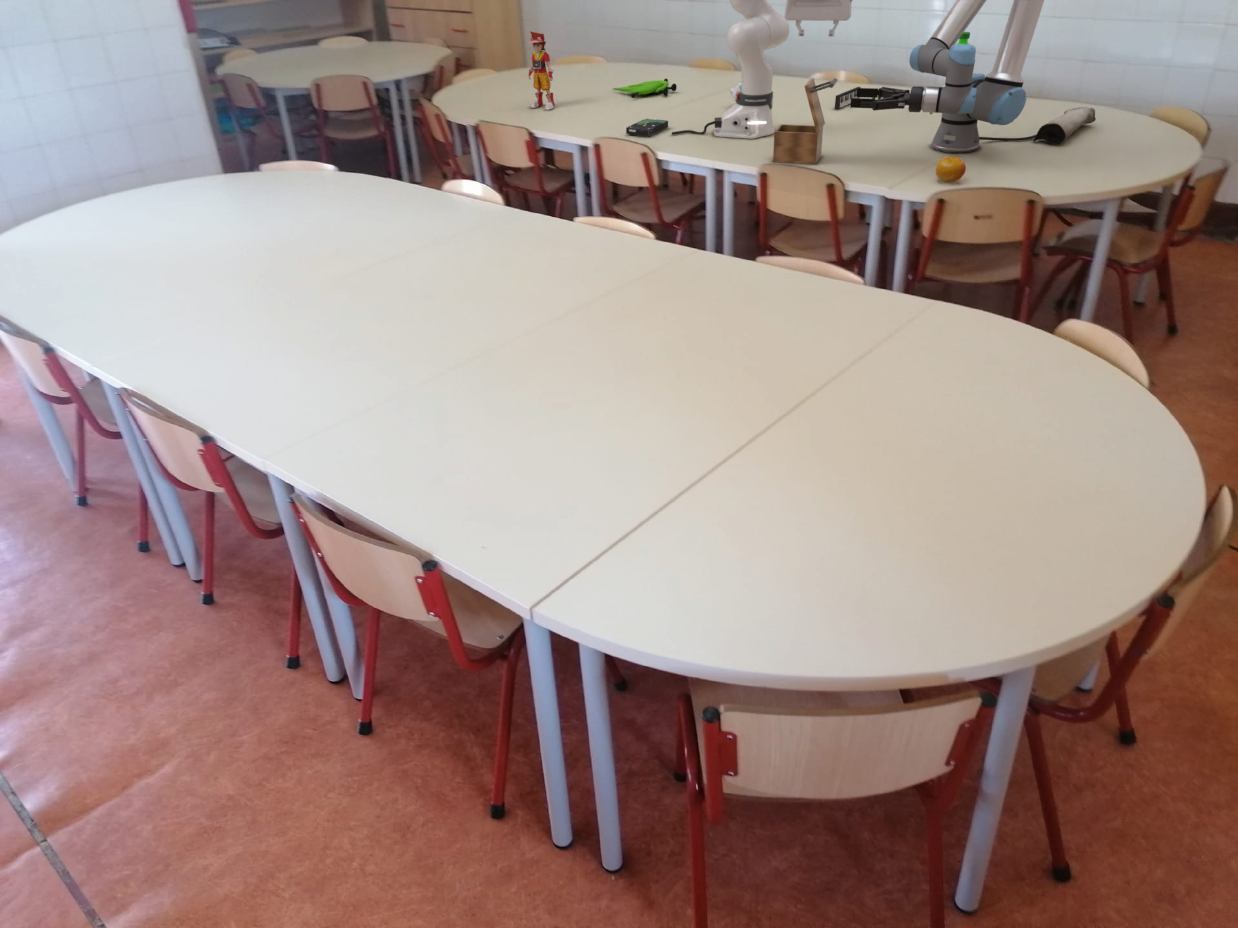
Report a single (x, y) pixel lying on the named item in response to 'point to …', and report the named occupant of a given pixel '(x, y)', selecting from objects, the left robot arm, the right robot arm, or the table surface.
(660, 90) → the toy
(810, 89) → the lid
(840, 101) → the midi keyboard
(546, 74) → the toy
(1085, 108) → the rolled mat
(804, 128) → the chest
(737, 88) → the anatomical model
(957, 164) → the fruit
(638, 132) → the disk drive
